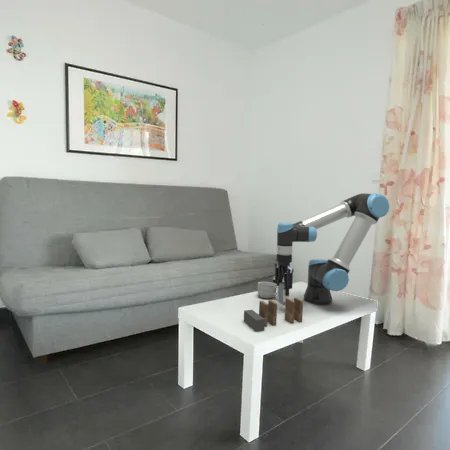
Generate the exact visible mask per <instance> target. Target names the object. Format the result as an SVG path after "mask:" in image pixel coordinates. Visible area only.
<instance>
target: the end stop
mask: <svg viewBox="0 0 450 450" xmlns="http://www.w3.org/2000/svg"><path fill="white" fill-rule="evenodd" d="M243 322H244V323H245V324H246V325H248V326H249V327H250V328H251V329H252V330H253V331H254V332H256V333H257V332H264V331H265V328H266V327H265V319H264V318H263V317H261V316H260V315H259V313H257V312H256V311H254V310H253V309H248V310H247V309H246V310H243Z"/></svg>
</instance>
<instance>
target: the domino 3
mask: <svg viewBox="0 0 450 450" xmlns="http://www.w3.org/2000/svg"><path fill="white" fill-rule="evenodd" d="M283 288H285V287H284V282H282V283H279V299H278V303H279V304H281V305H282V306H285V302H283Z"/></svg>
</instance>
